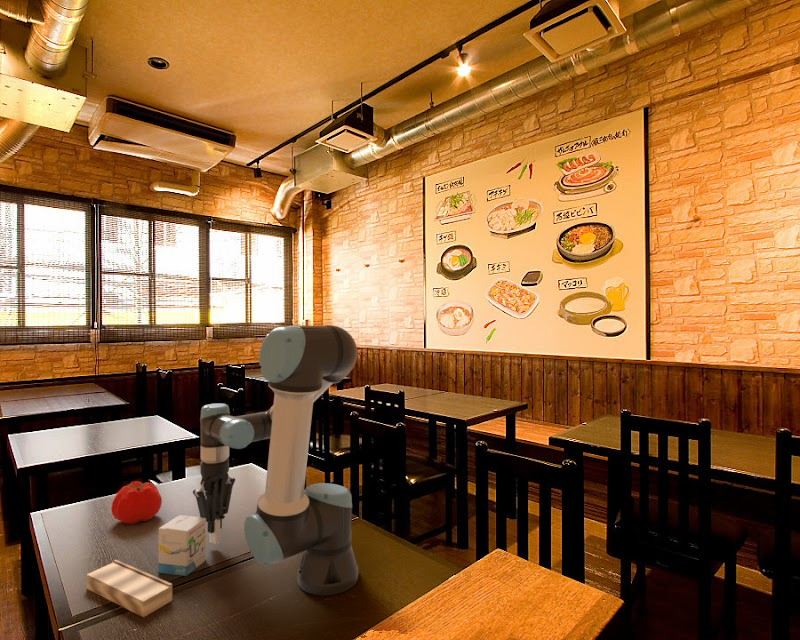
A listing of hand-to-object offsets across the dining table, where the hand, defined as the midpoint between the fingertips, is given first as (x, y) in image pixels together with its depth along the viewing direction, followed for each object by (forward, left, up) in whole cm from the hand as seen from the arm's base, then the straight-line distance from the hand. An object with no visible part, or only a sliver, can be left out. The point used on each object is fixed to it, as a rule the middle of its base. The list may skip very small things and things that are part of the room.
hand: (214, 542), depth 134 cm
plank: (0, +25, -2) cm, 25 cm away
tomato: (+37, -1, -2) cm, 37 cm away
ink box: (0, +10, -2) cm, 11 cm away
